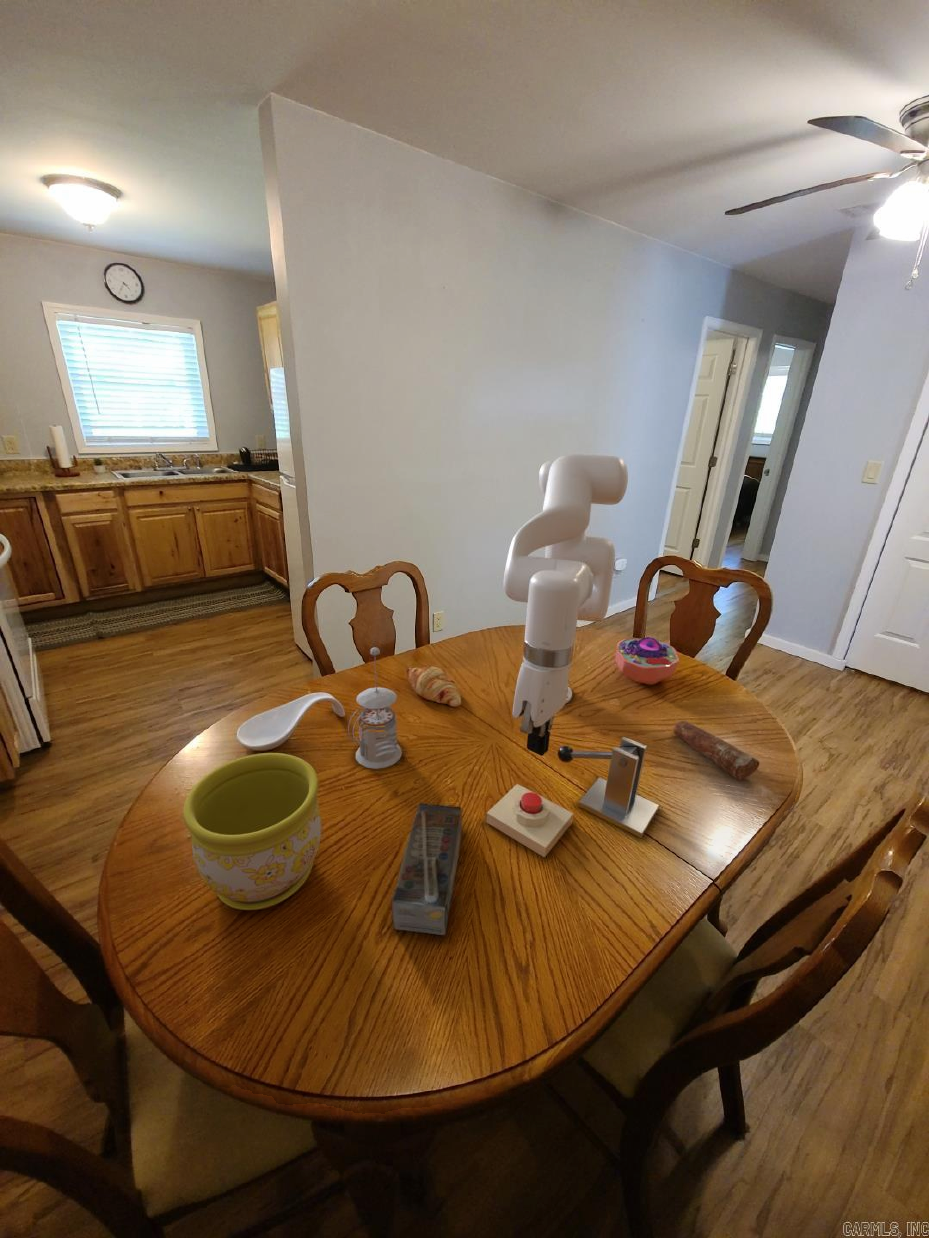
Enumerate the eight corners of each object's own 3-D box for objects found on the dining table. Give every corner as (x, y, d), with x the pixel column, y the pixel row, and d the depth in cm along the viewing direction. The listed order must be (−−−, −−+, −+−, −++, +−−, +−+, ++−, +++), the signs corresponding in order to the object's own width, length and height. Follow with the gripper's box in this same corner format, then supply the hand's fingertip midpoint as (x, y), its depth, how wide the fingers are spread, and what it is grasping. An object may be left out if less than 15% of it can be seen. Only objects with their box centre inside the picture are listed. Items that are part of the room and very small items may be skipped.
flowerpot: (291, 940, 69) (279, 850, 62) (174, 915, 71) (151, 827, 65) (343, 839, 85) (337, 760, 79) (246, 822, 88) (233, 744, 81)
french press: (411, 753, 107) (410, 648, 97) (367, 779, 99) (361, 667, 89) (382, 734, 113) (379, 633, 103) (338, 757, 105) (330, 650, 96)
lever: (557, 765, 98) (552, 750, 98) (564, 757, 101) (560, 742, 100) (634, 768, 88) (630, 752, 87) (641, 760, 90) (636, 743, 90)
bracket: (578, 806, 94) (587, 745, 89) (598, 781, 101) (608, 723, 96) (641, 838, 87) (655, 775, 82) (658, 809, 94) (672, 749, 89)
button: (516, 807, 88) (517, 800, 88) (527, 796, 91) (528, 789, 90) (534, 817, 86) (535, 809, 86) (544, 806, 89) (545, 798, 88)
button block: (486, 822, 90) (487, 804, 88) (516, 792, 97) (517, 776, 95) (544, 857, 83) (546, 839, 81) (572, 822, 90) (574, 805, 89)
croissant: (467, 717, 127) (479, 688, 126) (441, 714, 119) (454, 683, 119) (415, 683, 140) (425, 657, 140) (389, 679, 133) (400, 651, 132)
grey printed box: (389, 930, 70) (388, 897, 68) (417, 827, 88) (417, 798, 85) (445, 938, 70) (446, 905, 67) (462, 833, 87) (463, 803, 85)
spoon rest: (252, 767, 101) (247, 737, 98) (230, 740, 109) (225, 712, 106) (353, 723, 117) (352, 696, 114) (327, 702, 124) (325, 677, 122)
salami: (737, 787, 101) (744, 764, 99) (667, 734, 117) (671, 714, 115) (759, 779, 103) (766, 757, 101) (687, 728, 119) (692, 708, 117)
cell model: (600, 682, 139) (606, 645, 135) (624, 656, 154) (630, 623, 150) (663, 702, 130) (671, 663, 126) (681, 673, 145) (689, 637, 141)
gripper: (550, 630, 84) (540, 723, 91) (500, 659, 73) (493, 762, 80) (591, 643, 80) (577, 739, 87) (545, 676, 69) (533, 783, 76)
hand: (537, 750), depth 84 cm, fingers closed
